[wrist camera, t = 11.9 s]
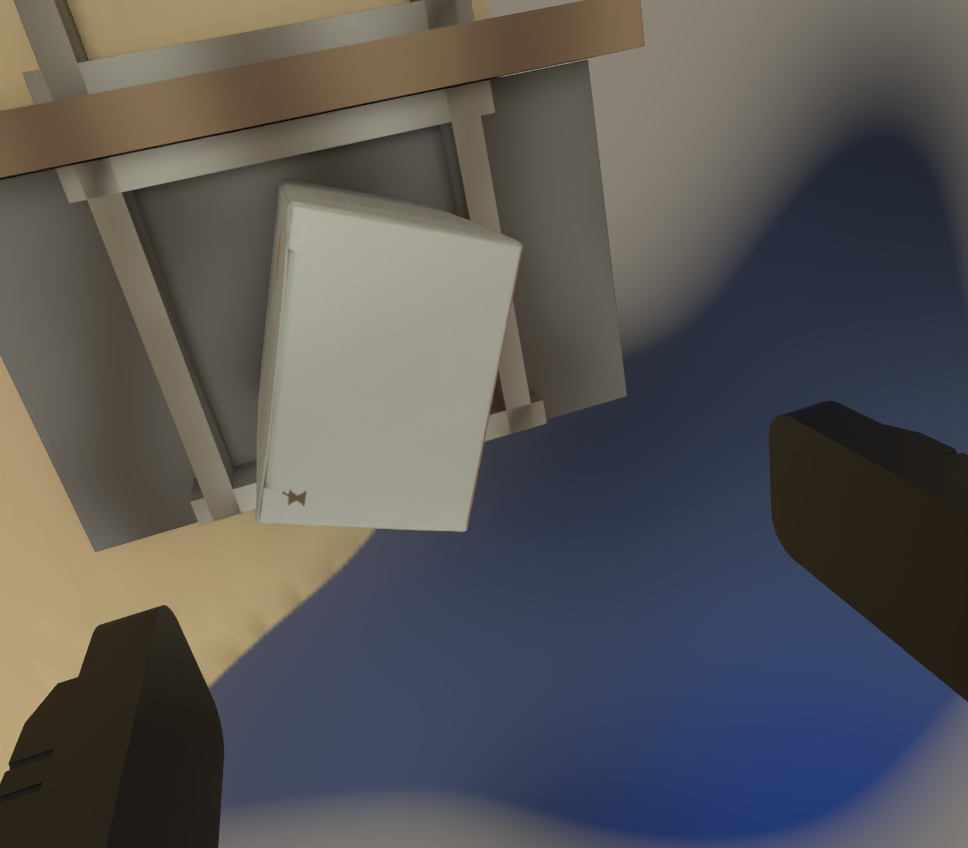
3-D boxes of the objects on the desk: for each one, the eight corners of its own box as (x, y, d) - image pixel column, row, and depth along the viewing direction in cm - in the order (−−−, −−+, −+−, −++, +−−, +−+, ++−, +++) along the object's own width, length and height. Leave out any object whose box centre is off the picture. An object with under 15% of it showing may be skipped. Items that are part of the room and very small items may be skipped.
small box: (402, 410, 30) (469, 542, 20) (254, 396, 28) (252, 533, 18) (437, 202, 27) (532, 242, 18) (277, 172, 25) (288, 198, 16)
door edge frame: (518, -471, 22) (586, -629, 17) (620, 391, 33) (678, 433, 28) (-357, -412, 18) (-566, -595, 13) (98, 544, 29) (68, 620, 24)
